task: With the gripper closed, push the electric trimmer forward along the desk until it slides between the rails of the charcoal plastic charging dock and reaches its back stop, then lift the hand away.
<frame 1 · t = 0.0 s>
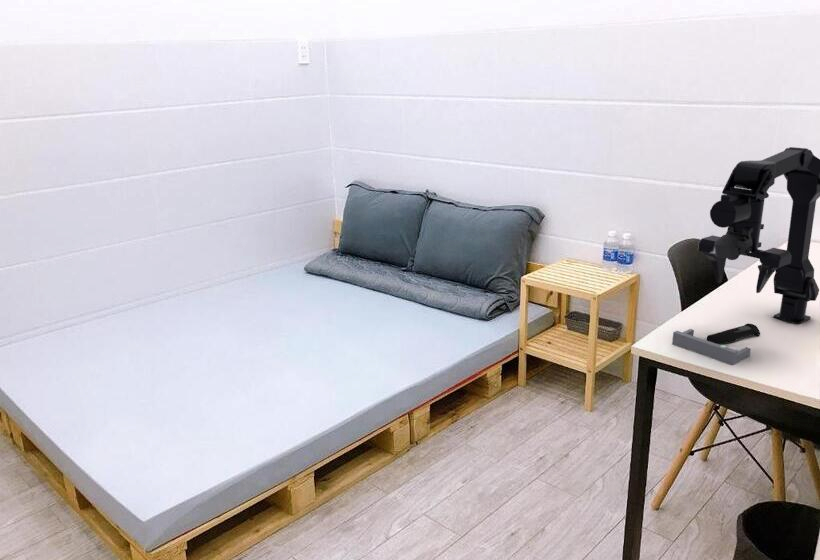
hand: (738, 287, 153), 15 cm above the table, tool pointing down, fingers open, 9 cm apart
charging dock: (718, 346, 159), on the table
electric trimmer: (733, 341, 162), on the table
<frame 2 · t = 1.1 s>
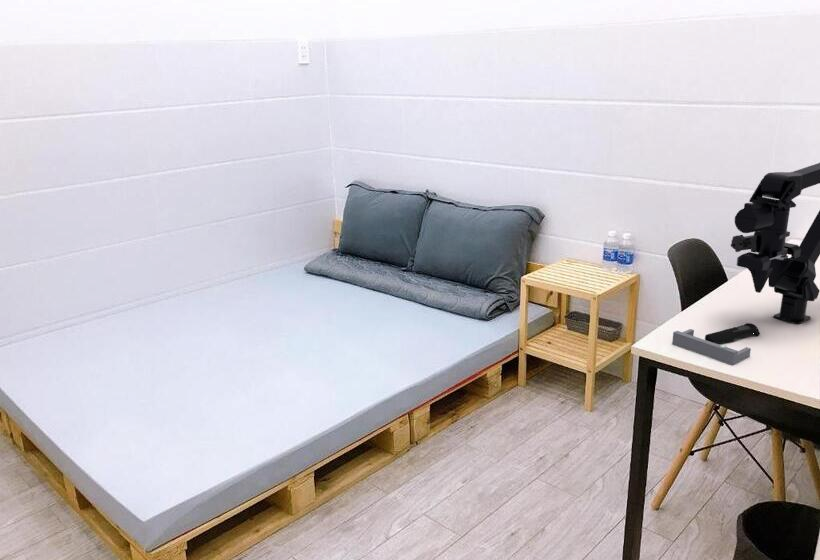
hand: (764, 289, 165), 10 cm above the table, tool pointing down, fingers open, 6 cm apart
nothing on the table moved.
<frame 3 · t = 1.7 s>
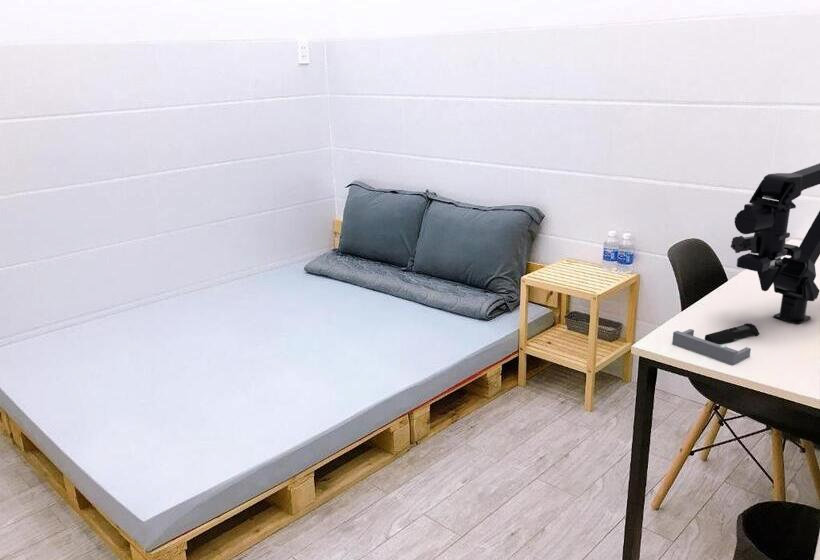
hand: (764, 290, 166), 10 cm above the table, tool pointing down, fingers closed
nothing on the table moved.
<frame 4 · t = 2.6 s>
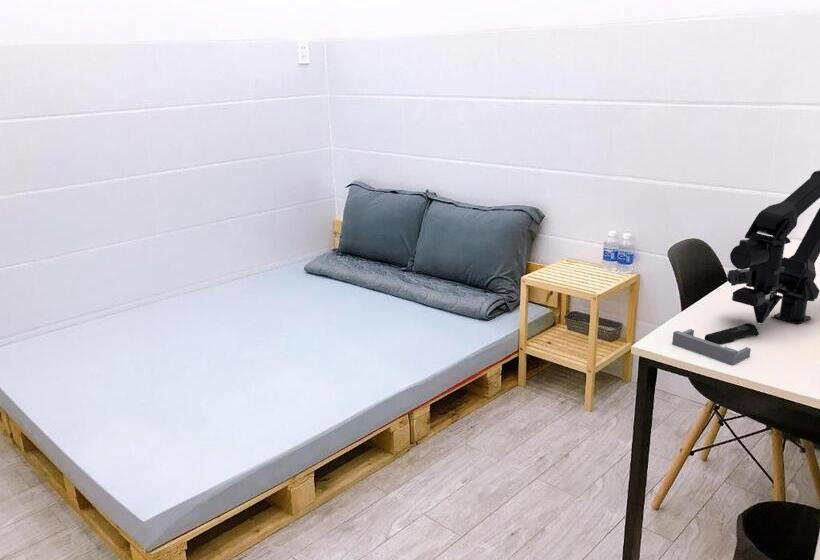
hand: (759, 322, 168), 1 cm above the table, tool pointing down, fingers closed
nothing on the table moved.
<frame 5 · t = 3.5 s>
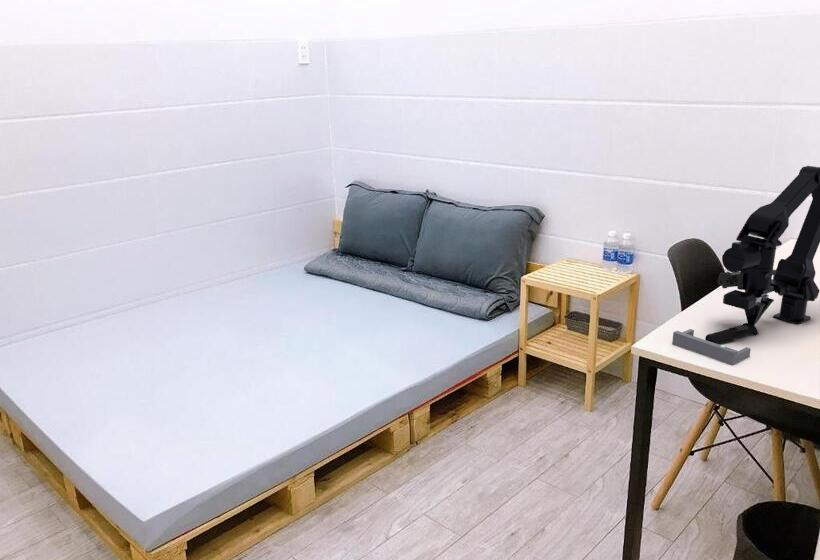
hand: (751, 326, 166), 1 cm above the table, tool pointing down, fingers closed
electric trimmer: (731, 340, 163), on the table, touching gripper
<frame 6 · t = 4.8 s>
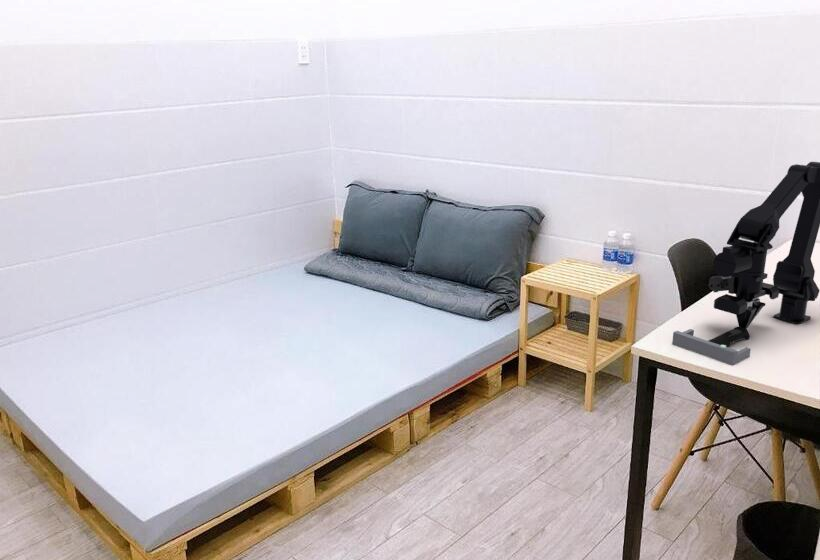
hand: (742, 330, 164), 1 cm above the table, tool pointing down, fingers closed
electric trimmer: (726, 345, 160), on the table, touching gripper
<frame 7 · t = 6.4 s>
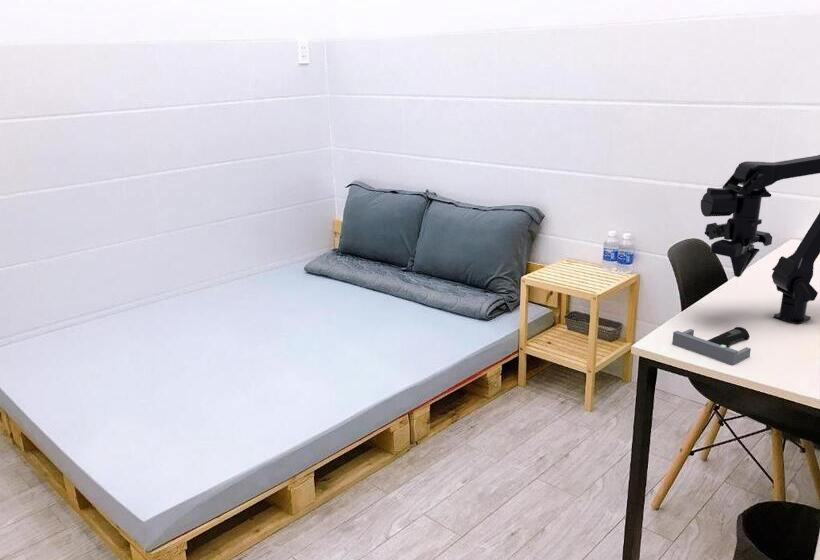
hand: (737, 276, 169), 12 cm above the table, tool pointing down, fingers closed
electric trimmer: (725, 345, 160), on the table
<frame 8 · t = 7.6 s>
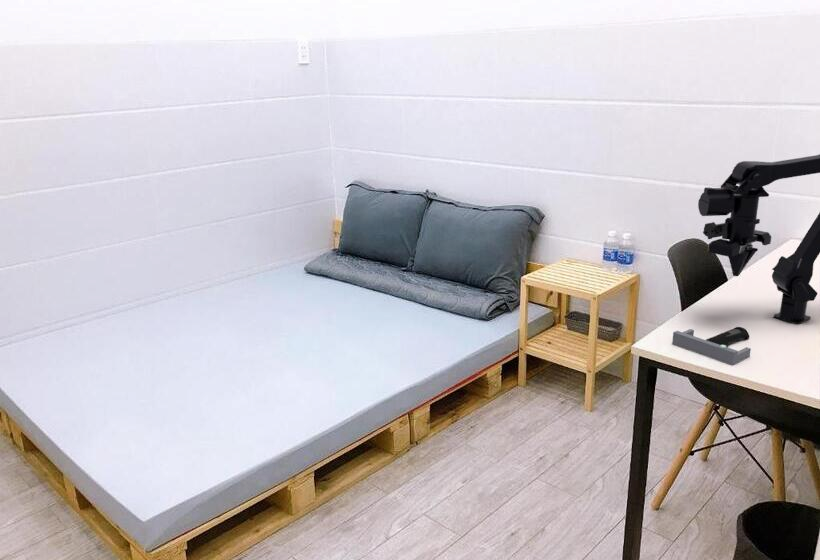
hand: (735, 275, 170), 12 cm above the table, tool pointing down, fingers closed
nothing on the table moved.
at the end: electric trimmer 0.0 cm from the target spot, on the table; electric trimmer tilted 0° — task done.
